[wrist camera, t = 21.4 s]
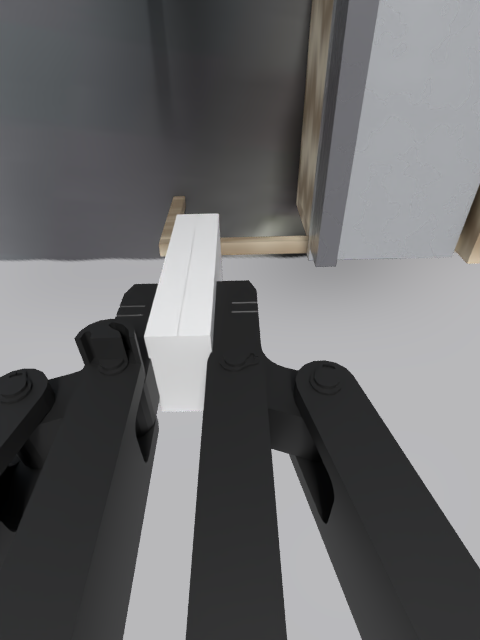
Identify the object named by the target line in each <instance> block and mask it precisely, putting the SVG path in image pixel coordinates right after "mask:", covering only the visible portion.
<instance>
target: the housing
mask: <svg viewBox="0 0 480 640" xmlns="http://www.w3.org/2000/svg"><path fill="white" fill-rule="evenodd" d="M333 1H334V0H312V9H311V22H310V35H309V48H308V60H307V73H306V86H305V99H304V112H303V124H302V137H301V150H300V163H299V176H298V188H297V201H296V205H297V208H298V211H299V214H300V217H301V220H302V224H303V227H304V230H305V233H306V236H273V237H229V238H220V244H221V255H245V254H288V253H307V248H308V239H309V229H310V220H311V210H312V201H313V191H314V182H315V172H316V163H317V153H318V144H319V134H320V125H321V115H322V106H323V96H324V87H325V77H326V68H327V58H328V49H329V39H330V30H331V20H332V11H333ZM185 208H186V204H185V196H174V197H173V200H172V203H171V207H170V210H169V213H168V216H167V219H166V223H165V226H164V229H163V232H162V235H161V238H160V242H159V250H160V255H161V256H166V253H167V250H168V246H169V242H170V239H171V235H172V231H173V227H174V224H175V220H176V216H177V215H178V214H184V212H185ZM455 251H456V252H457V253H458V254H459V255H460V256H461V257H462V259H463V260H464V261H465V262H466V263H467V264H468V263H469V264H471V263H480V184H479V187H478V190H477V192H476V195H475V198H474V200H473V203H472V205H471V208H470V211H469V213H468V216H467V219H466V221H465V224H464V226H463V229H462V232H461V234H460V237H459V240H458V242H457V245H456V247H455Z"/></svg>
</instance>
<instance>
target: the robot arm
mask: <svg viewBox="0 0 480 640" xmlns="http://www.w3.org/2000/svg"><path fill="white" fill-rule="evenodd" d="M75 341H76V344H77V346H78V348H79V351H80V354H81V356H82V359H83V361H84V364H85V366H84V368H83V369H82V370H81V371H79V372H75V373H72V374H69V375H65V376H61V377H57V378H54V379H50V380H48V379H47V377H46V376H45V374H44V373H43V372H41V371H39V370H36V369H20V370H17V371H12V372H10V373H8V374H6V375H4V376H2V377H0V640H123V634H124V629H125V622H126V617H127V611H128V605H129V600H130V593H131V588H132V582H133V577H134V571H135V564H136V558H137V553H138V547H139V542H140V536H141V530H142V524H143V519H144V512H145V507H146V501H147V495H148V489H149V484H150V478H151V472H152V466H153V461H154V455H155V449H156V443H157V438H158V432H159V426H158V420H157V416H156V414H157V409H158V403H159V402H160V407H161V411H162V412H181V411H203V423H202V436H201V449H200V462H199V474H198V487H197V501H196V514H195V526H194V539H193V552H192V565H191V578H190V591H189V604H188V617H187V630H186V640H287V634H286V623H285V610H284V598H283V586H282V574H281V563H280V550H279V538H278V526H277V513H276V501H275V489H274V477H273V466H272V454H271V449H275V450H278V451H282V452H285V453H288V454H289V455H290V458H291V460H292V463H293V465H294V468H295V471H296V473H297V476H298V478H299V481H300V483H301V486H302V488H303V491H304V493H305V496H306V498H307V501H308V504H309V506H310V509H311V511H312V514H313V516H314V518H315V521H316V524H317V526H318V529H319V531H320V534H321V537H322V539H323V541H324V544H325V547H326V549H327V552H328V554H329V557H330V559H331V562H332V564H333V567H334V570H335V572H336V575H337V577H338V579H339V582H340V585H341V587H342V590H343V592H344V594H345V597H346V600H347V602H348V605H349V607H350V610H351V613H352V615H353V618H354V620H355V623H356V625H357V628H358V630H359V633H360V635H361V638H362V640H480V569H479V567H478V565H477V564H476V562H475V561H474V559H473V558H472V556H471V555H470V553H469V552H468V550H467V549H466V547H465V546H464V544H463V542H462V541H461V539H460V538H459V536H458V535H457V533H456V532H455V530H454V529H453V527H452V526H451V524H450V523H449V521H448V520H447V518H446V516H445V515H444V513H443V512H442V510H441V509H440V507H439V506H438V504H437V503H436V501H435V500H434V498H433V497H432V495H431V494H430V492H429V491H428V489H427V488H426V486H425V484H424V483H423V481H422V480H421V478H420V477H419V475H418V474H417V472H416V471H415V469H414V468H413V466H412V465H411V463H410V461H409V460H408V458H407V457H406V455H405V454H404V452H403V451H402V449H401V448H400V446H399V445H398V443H397V442H396V440H395V439H394V437H393V436H392V434H391V433H390V431H389V429H388V428H387V426H386V425H385V423H384V422H383V420H382V419H381V418H380V416H379V414H378V413H377V411H376V410H375V408H374V407H373V405H372V404H371V402H370V400H369V399H368V397H367V396H366V394H365V393H364V391H363V390H362V388H361V387H360V385H359V384H358V382H357V381H356V379H355V377H354V376H353V375H352V374H351V373H350V372H349V371H348V370H347V369H346V368H345V367H343V366H341V365H339V364H337V363H334V362H329V361H313V362H310V363H308V364H305V365H304V366H303V367H302V368H301V369H300V370H299V371H298V370H293V369H289V368H285V367H282V366H279V365H277V364H275V363H273V362H272V361H270V360H269V359H268V358H267V357H266V356H265V354H264V353H263V351H262V348H261V341H260V329H259V317H258V304H257V292H256V289H255V288H254V286H253V285H252V284H251V283H250V281H249V280H248V281H222V263H221V244H220V226H219V214H178V215H177V216H176V220H175V224H174V227H173V231H172V235H171V239H170V242H169V246H168V250H167V253H166V257H165V261H164V264H163V268H162V272H161V275H160V279H159V283H158V284H135V285H133V286H132V287H131V288H130V289H129V290H128V291H127V292H126V293H125V294H124V297H123V299H122V302H121V304H120V308H119V310H118V312H117V317H115V319H108V320H101V321H98V322H95V323H93V324H90V325H88V326H87V327H85V328H84V329H82V330H81V331H80V332H79V333H78V335H77V336H76V337H75Z"/></svg>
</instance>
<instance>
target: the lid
mask: <svg viewBox="0 0 480 640" xmlns="http://www.w3.org/2000/svg"><path fill="white" fill-rule="evenodd" d="M479 184H480V0H334V1H333V11H332V20H331V30H330V39H329V49H328V58H327V68H326V77H325V87H324V96H323V106H322V115H321V125H320V134H319V144H318V153H317V163H316V172H315V182H314V191H313V201H312V210H311V220H310V229H309V239H308V248H307V257H308V260H314V263H315V266H316V267H324V266H325V267H326V266H336V263H337V260H352V259H393V258H394V259H397V258H438V257H439V258H440V257H452V255H453V253H454V250H455V247H456V245H457V242H458V240H459V237H460V234H461V232H462V229H463V226H464V224H465V221H466V219H467V216H468V213H469V211H470V208H471V205H472V203H473V200H474V198H475V195H476V192H477V190H478V187H479Z"/></svg>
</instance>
